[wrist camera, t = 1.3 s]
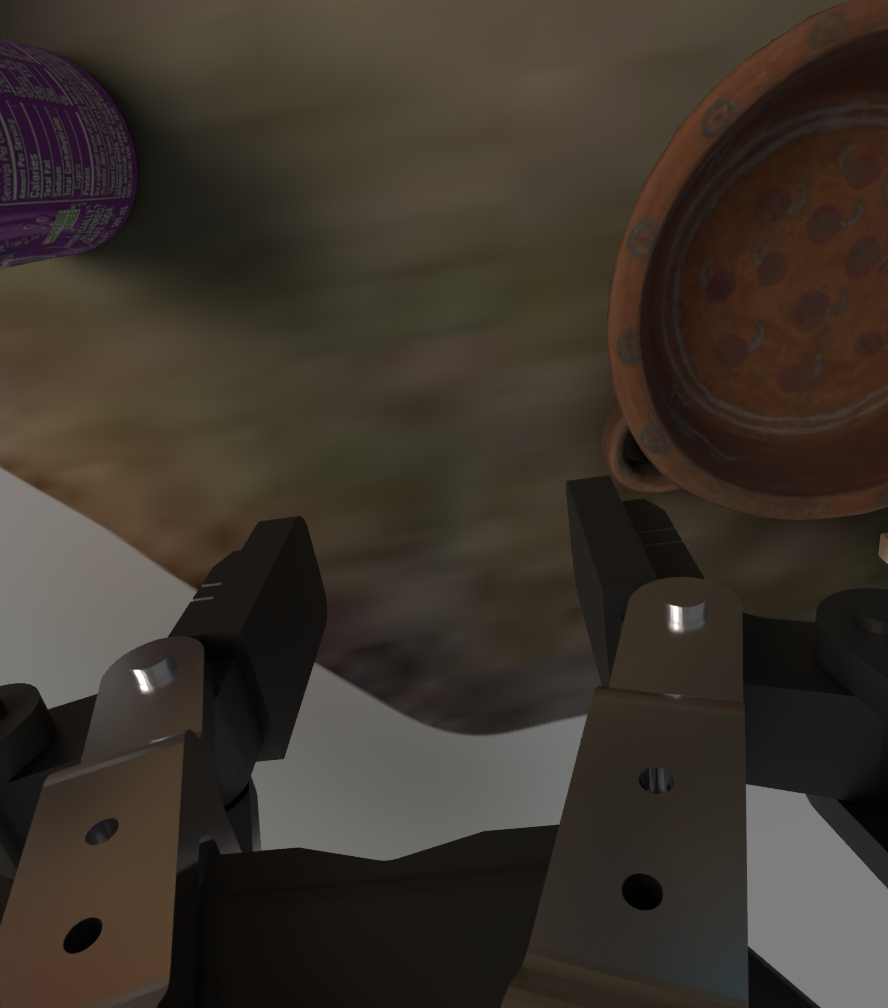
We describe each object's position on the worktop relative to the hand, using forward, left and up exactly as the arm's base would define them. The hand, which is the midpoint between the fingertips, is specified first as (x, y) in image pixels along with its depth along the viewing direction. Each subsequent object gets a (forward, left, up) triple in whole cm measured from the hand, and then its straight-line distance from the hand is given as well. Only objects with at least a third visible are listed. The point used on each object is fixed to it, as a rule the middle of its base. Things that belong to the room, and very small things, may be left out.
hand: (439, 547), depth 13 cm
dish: (0, +15, -20) cm, 25 cm away
